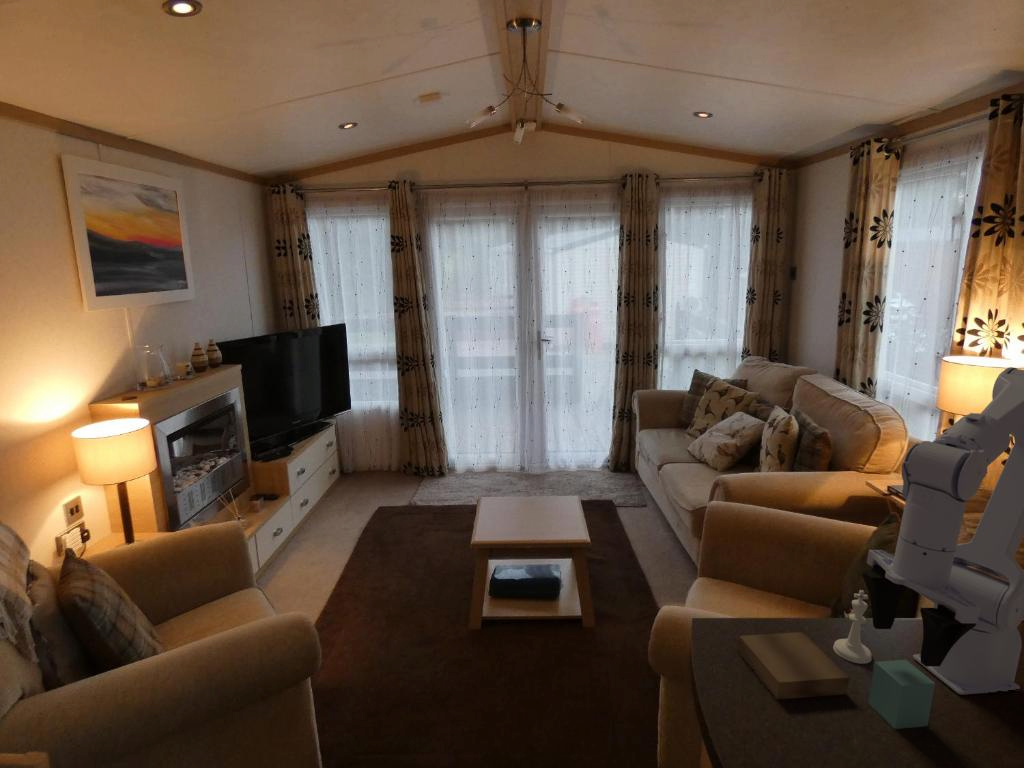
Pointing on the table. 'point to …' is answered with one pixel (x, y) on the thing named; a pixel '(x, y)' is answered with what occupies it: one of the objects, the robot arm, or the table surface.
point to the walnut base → (792, 665)
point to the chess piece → (855, 635)
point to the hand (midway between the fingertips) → (904, 645)
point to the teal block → (901, 694)
